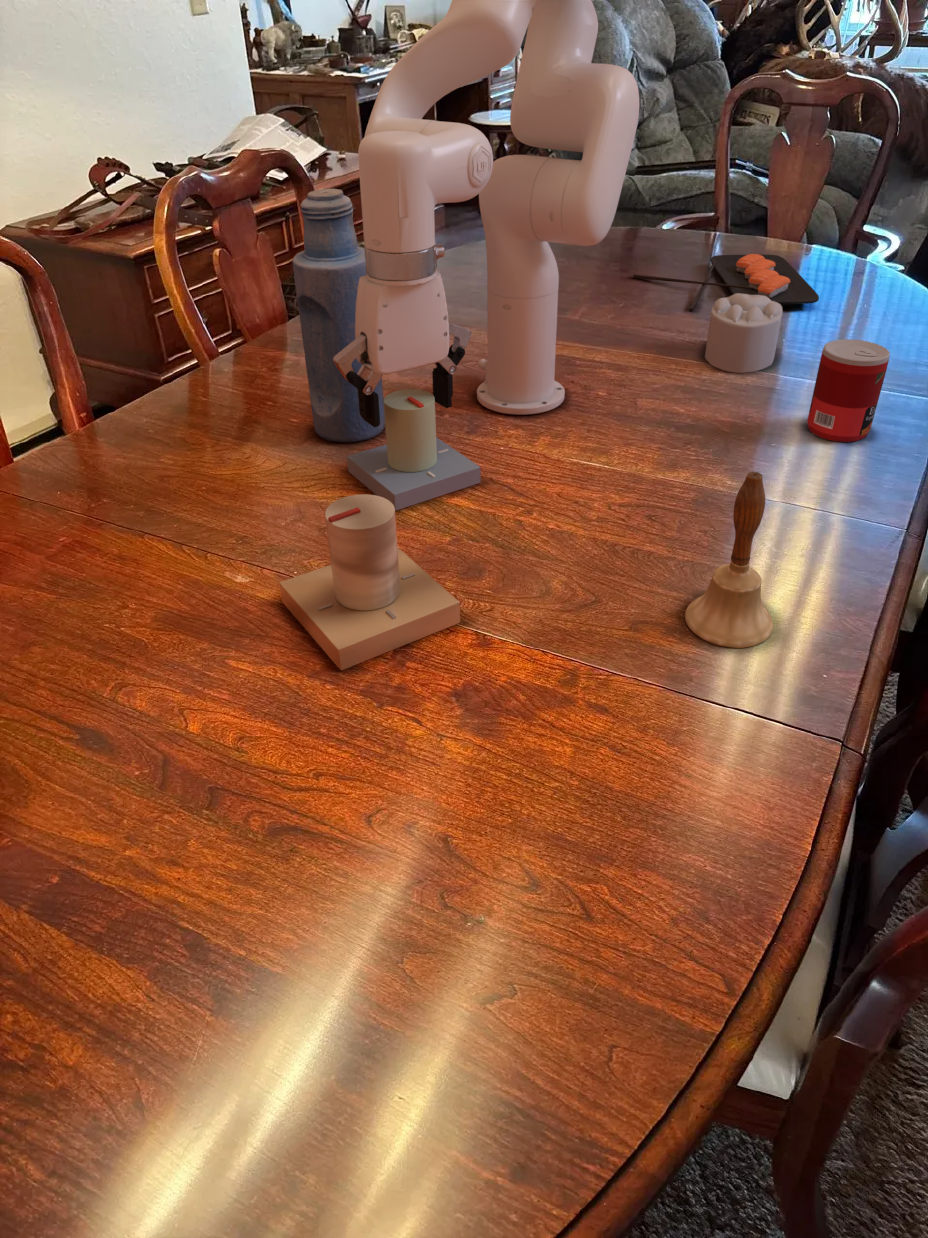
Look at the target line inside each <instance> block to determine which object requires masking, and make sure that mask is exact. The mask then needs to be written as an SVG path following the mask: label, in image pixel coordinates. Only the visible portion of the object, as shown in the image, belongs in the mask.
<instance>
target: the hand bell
mask: <svg viewBox="0 0 928 1238" xmlns="http://www.w3.org/2000/svg"><path fill="white" fill-rule="evenodd" d="M763 481H764V480H763V474H762V473H760V472H758V471H749V472H748V473H747V474H746V477H745V479H744V481H743V483H742V485H741V486H740V488H739V490H738V491H737V494H736V497H735V500H734V505H733V513H732V514H733V515H732V517H733V526H734V534H735V535H734V536H735V537H734V543H733V547H732V551H731V555H730V563H725V564H722V565H719V566H718V567H717V568H716V569H714V571H713V573H712V576H711V579H710V581H709V585H708V586H707V588H706V591H704V593H703V595H700V596H699V597H696V598H695V599H693V601H691V603H689V605H688V606H687V607H686V610H685V612H684V620H685V623H686V625H687V627H688V628H689V630H690V631H691V632H692V633H693V634H694V635H696V636H697V637H699V638H700V639H701V640H704V641H706V642H707V643H710V644H713V645H715V646H720V647H724V648H734V649H741V648H750V647H754V646H756V645H757V646H758V645H759V644H762V643H763V642H765V641H766V640H767V639H769V638H770V637H771V636H772V633H773V631H774V622H773V618H772V616H771V614H770V612H769V611H768V610H767V608H766V607H765V606H764V605H763V602H762V577H761V575H760V574H759V572H758V571H757V570H756V569H754V568H752V567H751V566H750V563H751V562H750V561H751V553H752V545H753V540H754V536H755V534H756V533H757V531H758V528H759V527H760V525H761V523H762V519H763V517H764V513H765V509H766V493H765V487H764V482H763Z"/></svg>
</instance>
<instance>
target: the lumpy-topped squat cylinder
mask: <svg viewBox="0 0 928 1238" xmlns="http://www.w3.org/2000/svg"><path fill="white" fill-rule="evenodd" d="M782 318H783V307H782V306H781V304H779V303H777V302H774V301H771V300H770V299H769V298H768V297H766V296H763V295H748V294H740V293H737V294H734V295H733V294H732V295H730V296H727V297H720V298H718V299H717V300H716V301H715V302H714V304H713V305H712V308H711V311H710V318H709V324H708V331H707V338H706V346H705V351H704V352H705V353H704V359H705V360H706V362H708V363H709V364H710V365H711V366H713V367H714V368H717V369H719V370H722V371H725V372H729V373H736V374H737V373H738V374H742V373H746V374H747V373H753V372H758V371H761V370H763V369H766V368H768V367H770V366H771V365H772V364H773V363H774V360H775V356H776V350H777V345H778V341H779V334H780V329H781V323H782Z"/></svg>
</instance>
